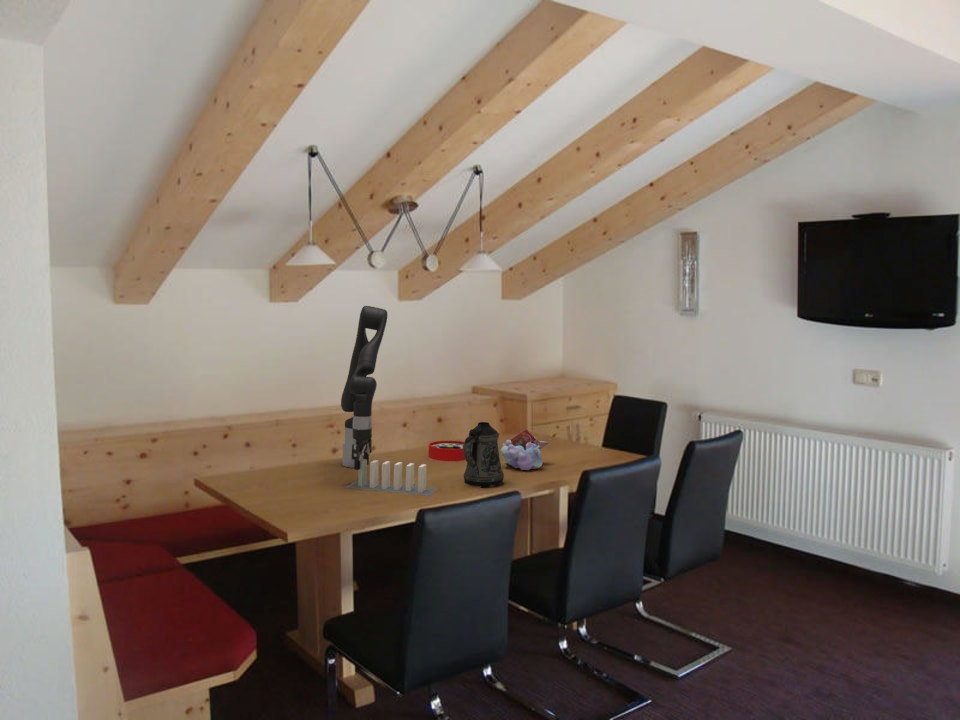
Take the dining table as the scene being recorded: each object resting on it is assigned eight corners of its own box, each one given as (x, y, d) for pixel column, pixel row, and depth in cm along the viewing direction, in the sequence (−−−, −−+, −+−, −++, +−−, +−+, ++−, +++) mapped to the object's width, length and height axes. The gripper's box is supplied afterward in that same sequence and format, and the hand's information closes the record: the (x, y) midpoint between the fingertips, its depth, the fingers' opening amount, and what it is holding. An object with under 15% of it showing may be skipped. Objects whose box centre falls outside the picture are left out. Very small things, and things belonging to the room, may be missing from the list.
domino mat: (344, 488, 319) (344, 487, 319) (356, 481, 331) (356, 480, 331) (429, 497, 310) (429, 495, 310) (438, 489, 322) (438, 488, 322)
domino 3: (381, 488, 319) (382, 463, 318) (386, 485, 324) (386, 461, 323) (385, 489, 319) (385, 464, 318) (390, 486, 323) (390, 461, 322)
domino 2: (369, 487, 320) (370, 462, 319) (374, 484, 325) (374, 460, 324) (373, 488, 320) (373, 462, 319) (378, 485, 325) (378, 460, 324)
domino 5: (405, 491, 316) (406, 465, 315) (410, 488, 321) (410, 463, 320) (409, 491, 316) (410, 466, 315) (413, 488, 321) (414, 463, 320)
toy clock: (470, 449, 372) (426, 448, 372) (470, 462, 372) (426, 461, 373) (471, 441, 392) (430, 439, 392) (471, 453, 392) (430, 451, 393)
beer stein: (506, 479, 341) (508, 420, 338) (498, 491, 322) (500, 428, 319) (468, 476, 344) (469, 418, 342) (457, 488, 325) (459, 426, 323)
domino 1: (358, 486, 321) (358, 461, 320) (363, 483, 326) (363, 459, 325) (361, 486, 321) (362, 461, 320) (366, 483, 326) (367, 459, 325)
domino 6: (417, 492, 315) (418, 466, 314) (422, 489, 320) (422, 464, 319) (421, 492, 315) (422, 467, 314) (426, 489, 320) (426, 464, 319)
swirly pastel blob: (500, 462, 351) (522, 427, 351) (488, 450, 372) (509, 417, 372) (537, 484, 357) (559, 450, 357) (523, 471, 378) (544, 438, 378)
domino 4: (393, 489, 318) (394, 464, 317) (398, 486, 322) (398, 462, 321) (397, 490, 317) (397, 465, 316) (401, 487, 322) (402, 462, 321)
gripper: (360, 423, 329) (360, 462, 331) (345, 429, 315) (345, 470, 317) (378, 424, 327) (377, 464, 329) (363, 430, 313) (363, 472, 315)
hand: (361, 467), depth 323 cm, fingers open, 8 cm apart
